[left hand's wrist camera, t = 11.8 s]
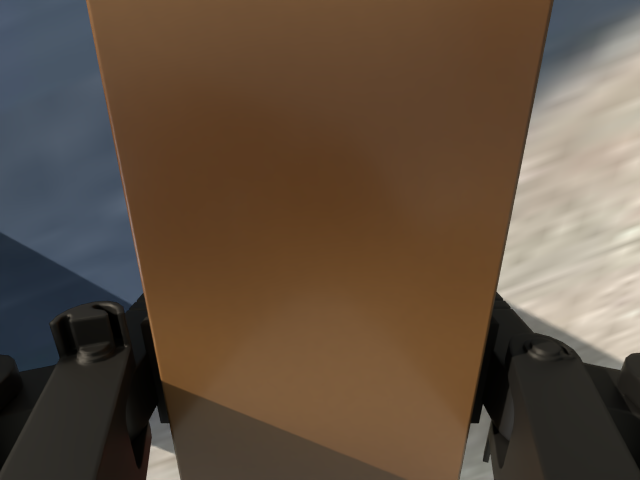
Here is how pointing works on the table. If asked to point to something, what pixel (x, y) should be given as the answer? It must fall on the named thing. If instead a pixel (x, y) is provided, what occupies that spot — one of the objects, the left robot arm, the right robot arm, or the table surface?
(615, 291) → the table surface
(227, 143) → the bar
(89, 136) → the table surface
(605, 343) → the table surface
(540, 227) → the table surface
